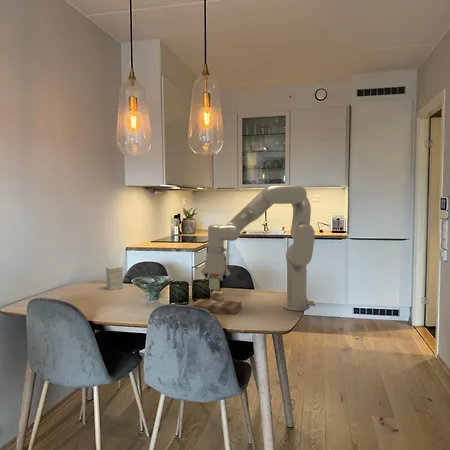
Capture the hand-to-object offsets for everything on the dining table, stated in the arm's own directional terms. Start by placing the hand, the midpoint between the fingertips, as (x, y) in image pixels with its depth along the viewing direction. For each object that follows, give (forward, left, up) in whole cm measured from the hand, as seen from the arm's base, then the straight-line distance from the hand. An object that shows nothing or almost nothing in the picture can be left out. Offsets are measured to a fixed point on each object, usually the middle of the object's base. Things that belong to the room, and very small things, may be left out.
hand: (215, 287), depth 196 cm
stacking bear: (+11, -28, -11) cm, 32 cm away
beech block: (+3, -11, -11) cm, 16 cm away
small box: (+73, -26, -11) cm, 78 cm away
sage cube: (0, 0, -1) cm, 1 cm away
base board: (0, 0, -11) cm, 11 cm away
